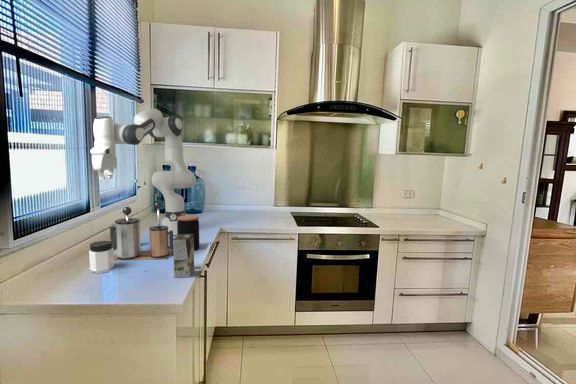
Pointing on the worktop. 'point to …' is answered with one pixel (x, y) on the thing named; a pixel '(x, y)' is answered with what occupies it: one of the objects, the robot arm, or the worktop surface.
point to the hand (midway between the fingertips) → (106, 179)
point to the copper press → (160, 241)
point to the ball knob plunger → (157, 205)
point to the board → (145, 256)
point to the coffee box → (183, 255)
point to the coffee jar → (189, 227)
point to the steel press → (126, 238)
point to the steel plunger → (126, 212)
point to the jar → (101, 256)
